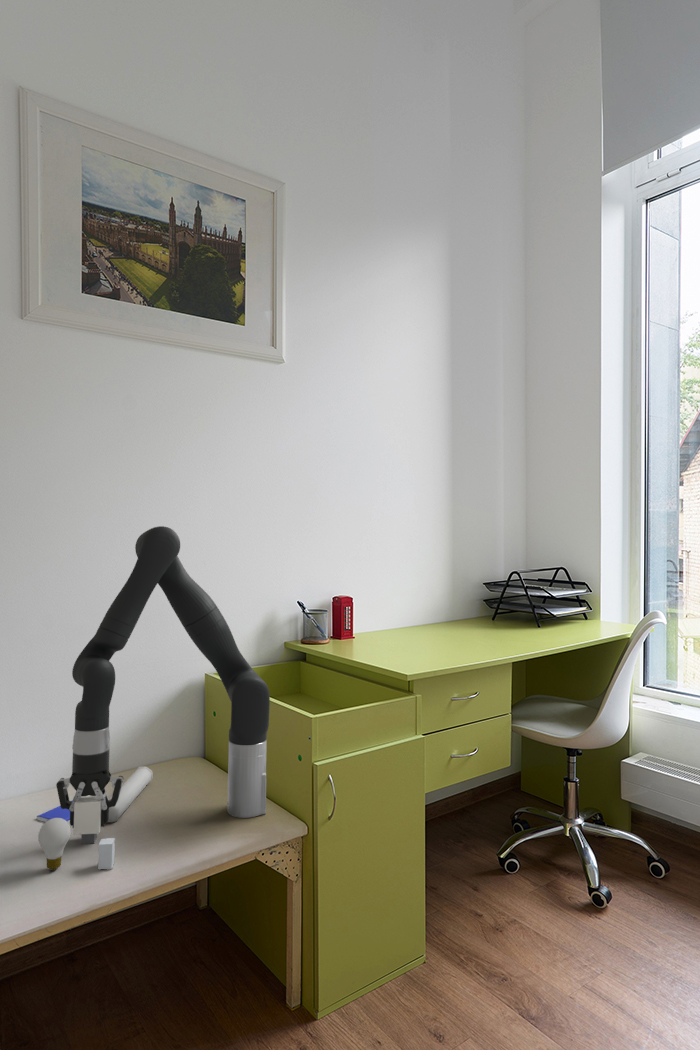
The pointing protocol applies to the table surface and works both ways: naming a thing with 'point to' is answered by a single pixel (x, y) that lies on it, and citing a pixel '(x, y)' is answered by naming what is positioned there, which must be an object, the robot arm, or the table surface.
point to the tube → (130, 792)
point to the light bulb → (54, 840)
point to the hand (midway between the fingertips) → (89, 825)
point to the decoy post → (106, 853)
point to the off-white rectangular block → (87, 815)
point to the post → (88, 838)
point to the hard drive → (55, 814)
